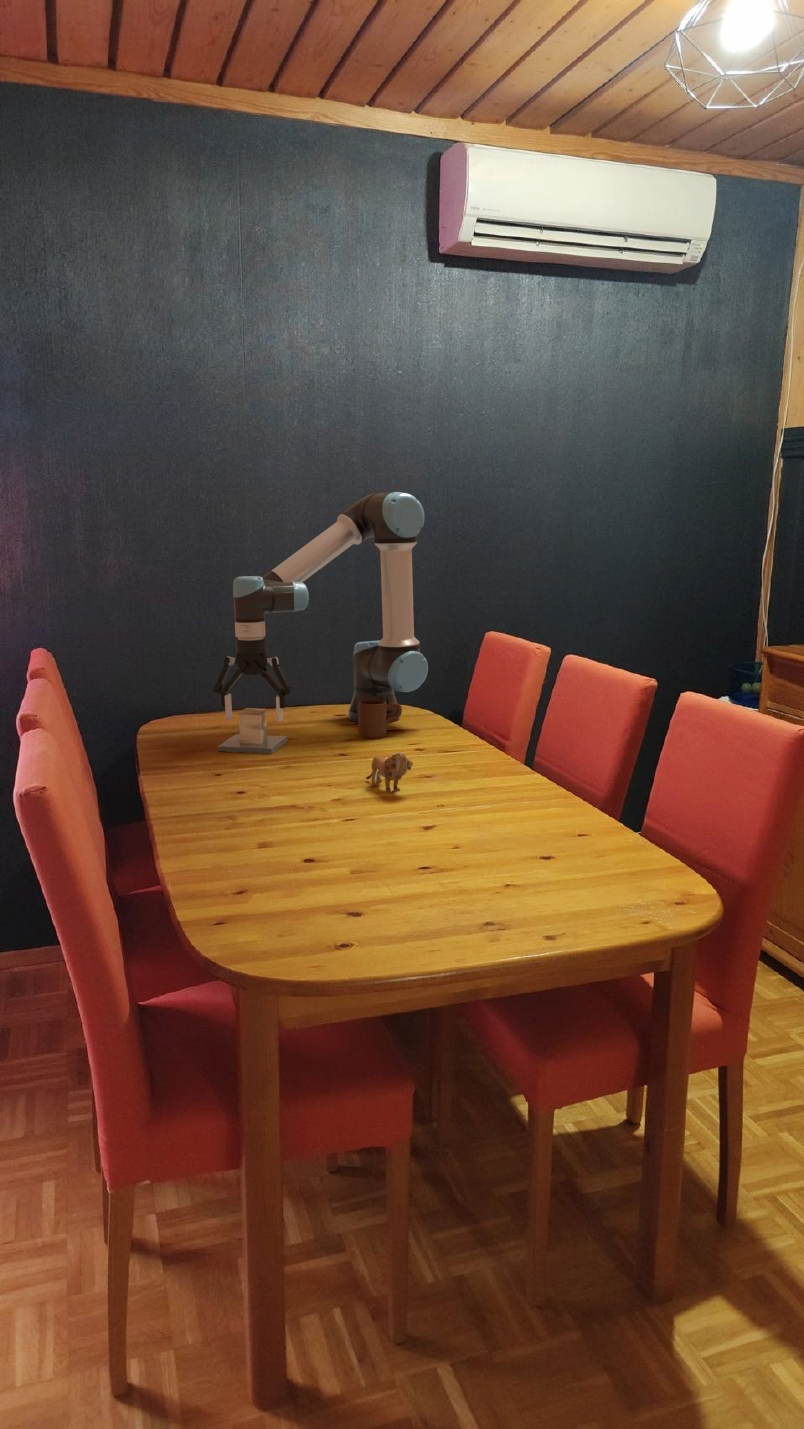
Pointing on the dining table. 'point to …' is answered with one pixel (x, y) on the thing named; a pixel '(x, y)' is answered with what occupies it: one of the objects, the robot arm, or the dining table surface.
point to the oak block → (253, 725)
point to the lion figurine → (390, 769)
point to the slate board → (253, 745)
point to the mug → (375, 718)
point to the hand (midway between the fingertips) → (254, 720)
